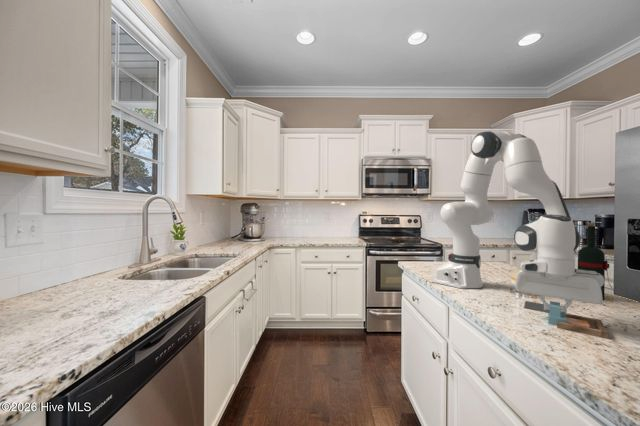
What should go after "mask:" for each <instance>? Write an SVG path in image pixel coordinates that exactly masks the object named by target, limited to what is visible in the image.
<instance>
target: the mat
mask: <svg viewBox="0 0 640 426" xmlns="http://www.w3.org/2000/svg"><path fill="white" fill-rule="evenodd" d="M523 309H526V310H531V311H536V312H541V313H542V312H543V313H547V314H548V310H544V304H543V303H541V302H534V301H533V302H532V301H529V300H525V301H524V306H523Z"/></svg>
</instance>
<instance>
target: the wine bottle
mask: <svg viewBox="0 0 640 426" xmlns="http://www.w3.org/2000/svg"><path fill="white" fill-rule="evenodd" d="M595 224H596V223H594V222H593V223H591V222H588V226H587V239H586V240H587V242H586V243H587V245H586V246H584V247H581V248H580V249H579V250H578V252H577V269H580V270H586V271H596V272H597V273H599V274H601V275H602V276H603V277H604V284H603V286H602V287H601V291H602V299H603V300H605V274H606V275H607V276H609V272H608V270H609V269H610V264H609V263H608V261H609V260H607V259H606V256H605V255H606V254H605V253H604V251H603V250H602V249H601V248H599V247H597V246H596V226H595ZM605 259H606V260H605ZM605 272H606V273H605ZM597 275H598V274H597ZM607 280H608V285H609V286H610V288H611V289H612V290H614V289H613V286H612V285H611V284H610V281H609V280H610V279H609V278H607Z"/></svg>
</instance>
